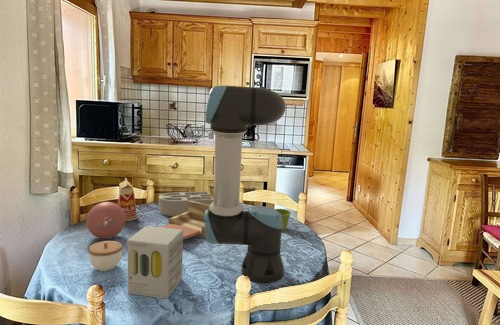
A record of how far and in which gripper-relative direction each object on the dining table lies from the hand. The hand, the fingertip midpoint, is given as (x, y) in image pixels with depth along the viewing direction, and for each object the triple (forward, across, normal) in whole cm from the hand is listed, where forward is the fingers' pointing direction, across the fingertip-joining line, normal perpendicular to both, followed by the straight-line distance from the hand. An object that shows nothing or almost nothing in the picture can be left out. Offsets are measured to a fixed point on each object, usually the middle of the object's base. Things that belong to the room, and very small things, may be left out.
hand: (229, 179), depth 159 cm
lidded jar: (+29, -51, +23) cm, 63 cm away
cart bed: (+25, -3, +14) cm, 29 cm away
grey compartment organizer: (+24, +18, +32) cm, 44 cm away
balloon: (+28, -31, +40) cm, 58 cm away
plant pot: (+24, +16, -22) cm, 36 cm away
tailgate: (+24, -11, +15) cm, 30 cm away
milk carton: (+26, -6, +51) cm, 58 cm away
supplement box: (+29, -54, 0) cm, 61 cm away
